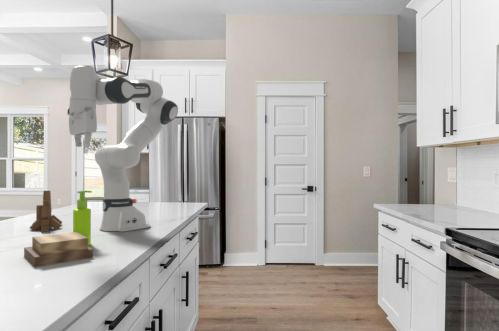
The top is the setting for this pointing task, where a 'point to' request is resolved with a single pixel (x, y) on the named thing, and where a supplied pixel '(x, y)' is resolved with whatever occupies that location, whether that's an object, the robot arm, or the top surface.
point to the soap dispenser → (82, 217)
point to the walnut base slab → (55, 256)
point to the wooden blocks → (45, 215)
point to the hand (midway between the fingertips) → (82, 146)
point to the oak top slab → (59, 243)
